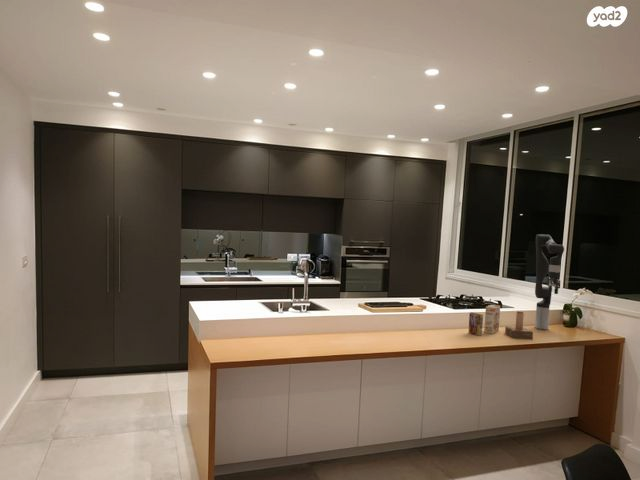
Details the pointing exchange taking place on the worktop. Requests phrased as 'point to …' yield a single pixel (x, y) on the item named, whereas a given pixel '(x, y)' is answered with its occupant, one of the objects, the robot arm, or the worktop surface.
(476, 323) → the candy box
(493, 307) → the coffeecake box
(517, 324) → the terracotta canister
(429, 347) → the worktop surface
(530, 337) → the walnut base
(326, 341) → the worktop surface
